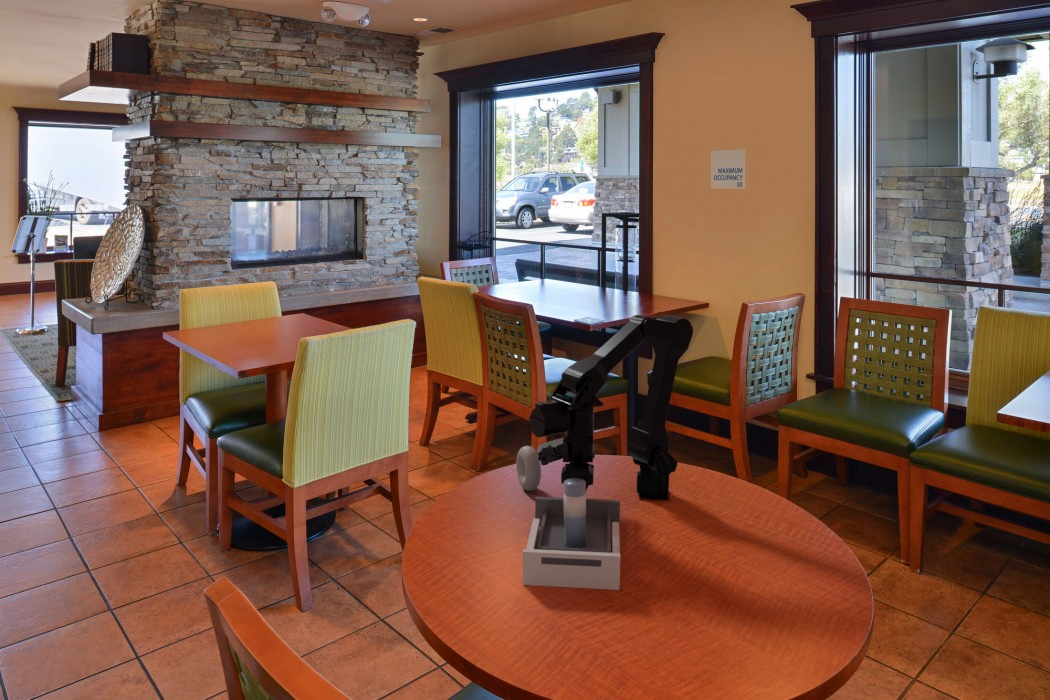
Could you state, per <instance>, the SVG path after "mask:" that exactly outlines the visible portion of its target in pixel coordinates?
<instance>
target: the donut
mask: <svg viewBox="0 0 1050 700" xmlns="http://www.w3.org/2000/svg"><path fill="white" fill-rule="evenodd" d="M538 457H539V456H538V453H537V450H536V449H535V448H534V447H532V446H530V445H524V446H522V447H521V448H519V451H518V453H517V456H516V461H515V462H516V463H515V464H516V465H515V466H516V474H517V479H518V482H519V485H520V486H521V488H522V489H523V490H525V491H527V492H533V491H534V490H536V489H537V488H538V487H539V485H540V483H541V478H542V477H541V476H542V469H541V468H542V467H541V466H542V465H541V462H540V461H539V460H538Z"/></svg>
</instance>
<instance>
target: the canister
mask: <svg viewBox="0 0 1050 700" xmlns="http://www.w3.org/2000/svg"><path fill="white" fill-rule="evenodd" d="M562 493H563V496H562V497H563V498H564V545H565V546H567V547H569V548H581V547H584V546H585V545H586V499H587V490H586V482H585V481H584V480H582V479H578V478H571V479H567V480H565V481H564V484H563V492H562Z"/></svg>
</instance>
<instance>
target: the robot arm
mask: <svg viewBox="0 0 1050 700" xmlns="http://www.w3.org/2000/svg"><path fill="white" fill-rule="evenodd" d="M693 334H694V326H693V325H692V323H691V322H690V321H689V319H687V318H684V317H678V316H673V315H668V314H662V315H659V316H658V317H657V318H656V317H651V316H645V315H641V314H635V315H633V316H631V317H630V318H629V320H628V322H627V323H626V324H625V325H624V326H622V328H620V329H619V330H618V331H617V332H616V333H615V334H614V335H613V336H612V337H610V338H609V340H607V341H606V342H605V343H604V344H603V345H601V347H600V348H598V349H597V350H596V351H595V352H594V353H593V354H591V355H589V356H587V357H586V358H585V357H584V358H583V359H580V360H577V361H575V362H574V363H573V364H571V365H570V366H568V367H567V368H565V369H564V370H563V372H562V374H561V379H560V380H559V382H558V383H557V386H556V387H555V389H554V390H553V392H552V394H551V395H550V400H547V401H536V402H535V404H534V405H535V406H534V407H535V408H533V409H532V410H531V412H530V416H528V421H529V427H530V430H531V432H532V433H533V435H534V436H535V437H536V438H544V437H550V436H555V435H558V434H563V437H562V438H561V437H560V438H556V439H553V440H550V441H547V442H544V443H540V444H539V445H538V446H537V449H536V452H537V454H538V460H539V461H540V465H541V466H548V465H549V464H551V463H553V462H557V461H560V460H562V463H565V464H564V466H563V467H561V475H560V478H561V479H560V483H561V484H562V485H564V481H565V480H567V479H571V478H578V479H582V480H584V481H585V482H586V491H587V490H588V488H589V486H592V485H594V477H595V476H594V470H595V468H594V467H595V465H594V464H591V463H594V459H595V458H596V457H595V456H596V446H595V444H594V437H595V432H594V431H595V430H594V426H595V425H594V424H595V408H599V407H603V406H604V402H603V401H601V400H600V399H599V398H598V397H597V395H598V393H599V392H600V391H601V390H602V389H603V387H604V386H605V384H606V383H607V379H608V375H609V374H610V373H611V372H612V370H613V369H614V368H616V367H617V365H618V364H619V363H621V362H622V361H623V360H624V359H625V358H626V357H627V356H629V354H630V353H632V351H634V350H635V349H636V348H637V347H638V346H639V345H640V344H641V343H643V342H644V341H645V340H646V339H647V338H648V337H649V336H650V337H651V345H652V348H653V352H654V359H653V361H654V362H653V366H652V371H651V376H650V381H649V384H648V385H649V386H648V390H647V395H646V399H645V404H644V410H643V414H642V419H641V421H640V422H639V424H638V425H637V426H636V427H635V426H631V427H630V428H629V434H628V436H629V437H628V438H627V439H628V440H627V441H626V445H627V451H628V453H629V455H630V457H631V458H632V462H633V464H634V465H638V466H639V470H638V471H636V488H635V489H636V493H637V494H638V499H640V500H654V501H656V500H659V501H670V493H669V492H670V491H669V490H670V475H671V473H674V472H676V471H677V466H678V463H679V462H678V461H677V460H676V459H675V457H673V455H672V454H671V453H670V452H669V447H670V445H669V443H670V440H669V435H668V432H667V431H668V430H667V427H666V424H667V423H666V420H667V417H668V411H669V407H670V402H671V398H672V394H673V393H672V392H673V388H674V382H675V377H676V372H677V370H678V369H677V368H678V365H679V364H678V363H679V360H680V359H681V358H682V356H683V355H684V354H685V353H686V352H687V351H688V349H689V347H690V343H691V341H692V338H693V336H694V335H693ZM567 394H569V395H571V396H569V395H567ZM572 396H574V397H572Z"/></svg>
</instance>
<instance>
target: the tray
mask: <svg viewBox="0 0 1050 700" xmlns="http://www.w3.org/2000/svg"><path fill="white" fill-rule="evenodd" d="M534 508H535V511H534V514H535V515H534V516H535V518H534V519H540V533H539V538H538V542H537V547H536V549H540V550H561V551H582V552H603V553H612V527H611V525H612V522H619V526H620V523H621V522H620V521H621V519H620V518H621V517H620V515H621V514H620V513H621V500H620V499H605V498H604V499H603V498H602V499H601V498H598V499H597V498H586V545H585V546H584V547H581V548H569V547H567V546H565V545H564V497H558V496H557V497H553V496H552V497H551V496H535V507H534Z"/></svg>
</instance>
